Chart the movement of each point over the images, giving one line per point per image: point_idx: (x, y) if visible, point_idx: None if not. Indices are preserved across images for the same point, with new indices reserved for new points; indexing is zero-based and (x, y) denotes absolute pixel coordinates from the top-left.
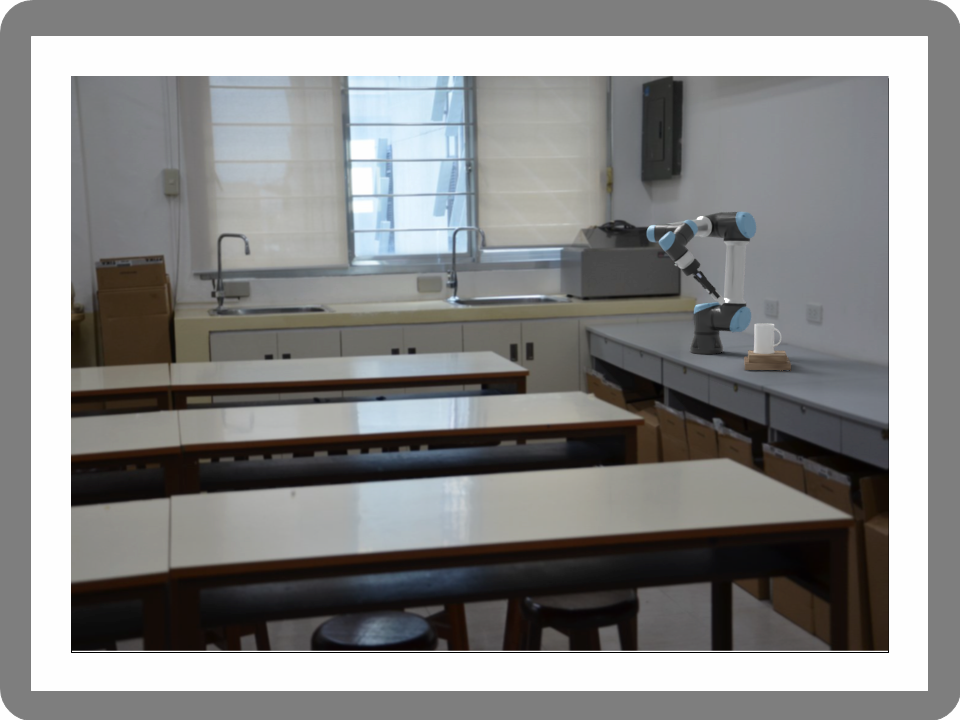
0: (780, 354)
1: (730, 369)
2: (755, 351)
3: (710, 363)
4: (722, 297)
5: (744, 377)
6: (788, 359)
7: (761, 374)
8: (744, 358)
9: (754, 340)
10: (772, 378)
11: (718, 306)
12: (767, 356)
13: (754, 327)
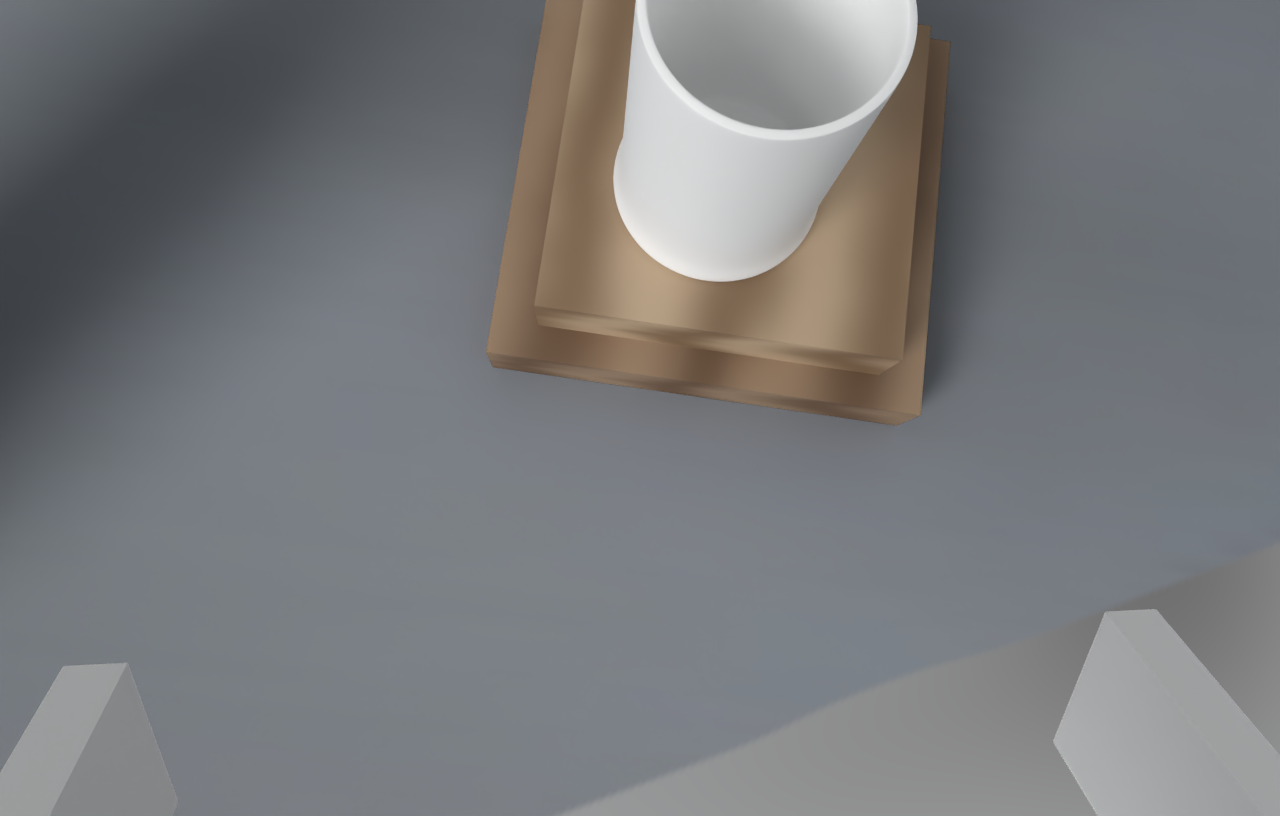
0: None
1: (829, 541)
2: (765, 265)
3: (456, 685)
4: (1255, 748)
5: (1240, 485)
6: None
7: (1087, 326)
8: (592, 368)
9: (749, 229)
10: (1270, 278)
11: None
12: (913, 193)
13: (770, 160)
